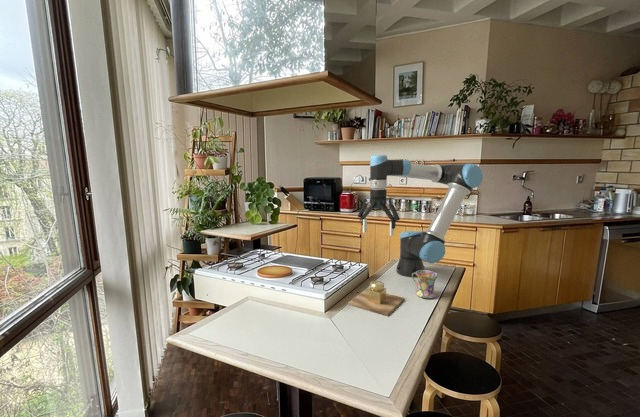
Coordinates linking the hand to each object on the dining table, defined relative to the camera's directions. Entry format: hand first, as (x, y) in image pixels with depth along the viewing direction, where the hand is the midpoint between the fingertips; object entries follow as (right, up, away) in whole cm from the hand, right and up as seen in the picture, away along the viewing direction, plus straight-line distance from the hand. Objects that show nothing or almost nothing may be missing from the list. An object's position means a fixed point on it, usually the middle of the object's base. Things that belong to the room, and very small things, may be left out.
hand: (377, 233), depth 145 cm
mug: (+20, -28, -5) cm, 34 cm away
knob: (-3, -28, -13) cm, 30 cm away
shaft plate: (-3, -29, -12) cm, 31 cm away
